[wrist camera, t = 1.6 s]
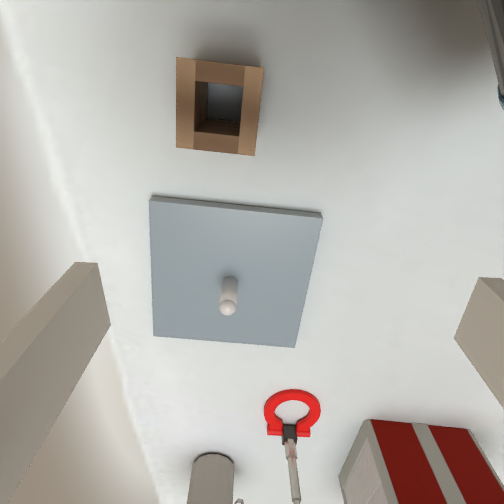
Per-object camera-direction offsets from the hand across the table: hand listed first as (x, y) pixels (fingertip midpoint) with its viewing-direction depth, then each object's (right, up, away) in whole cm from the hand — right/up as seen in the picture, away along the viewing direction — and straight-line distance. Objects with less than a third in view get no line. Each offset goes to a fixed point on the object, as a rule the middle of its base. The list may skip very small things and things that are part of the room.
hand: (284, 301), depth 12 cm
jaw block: (-4, +16, +20) cm, 25 cm away
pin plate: (-4, -1, +29) cm, 29 cm away
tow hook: (+5, -22, +40) cm, 46 cm away
